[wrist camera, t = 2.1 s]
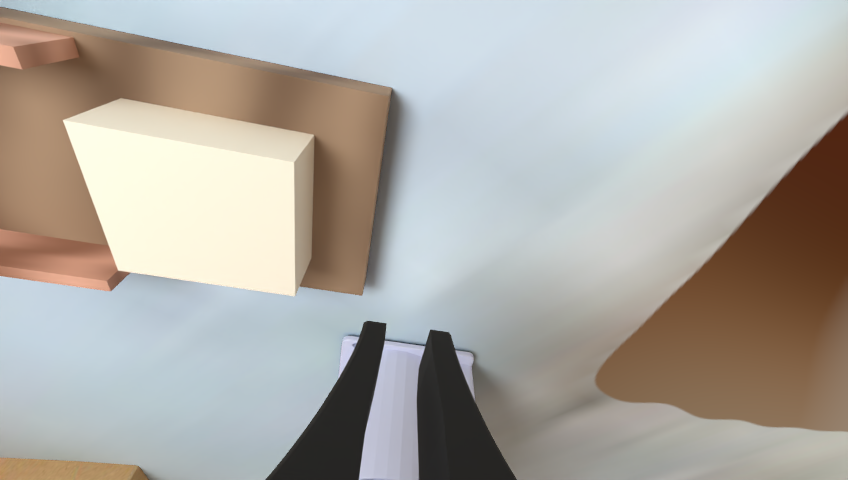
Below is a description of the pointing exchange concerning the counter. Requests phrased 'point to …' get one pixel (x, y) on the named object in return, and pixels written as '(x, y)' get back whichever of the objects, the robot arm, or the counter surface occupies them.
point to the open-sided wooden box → (182, 89)
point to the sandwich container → (66, 470)
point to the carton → (199, 194)
